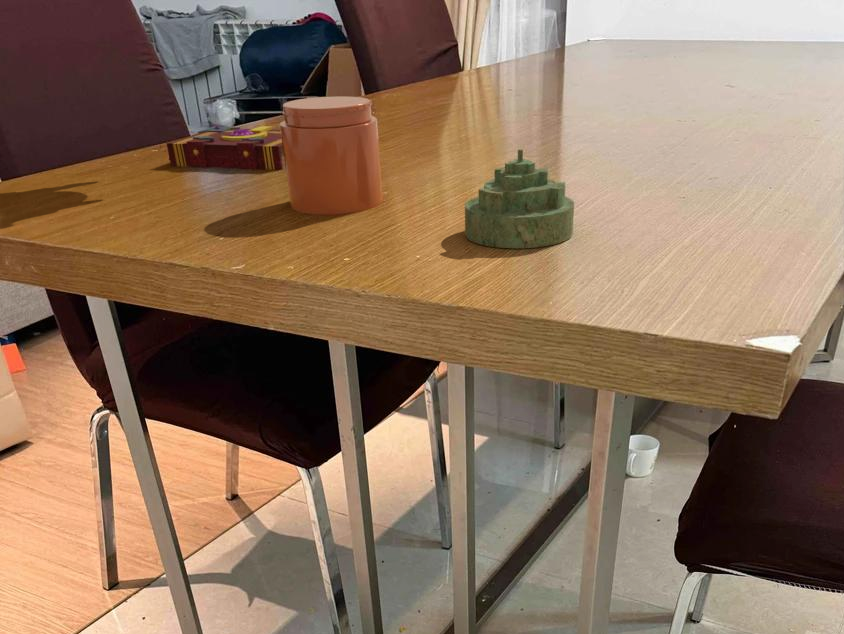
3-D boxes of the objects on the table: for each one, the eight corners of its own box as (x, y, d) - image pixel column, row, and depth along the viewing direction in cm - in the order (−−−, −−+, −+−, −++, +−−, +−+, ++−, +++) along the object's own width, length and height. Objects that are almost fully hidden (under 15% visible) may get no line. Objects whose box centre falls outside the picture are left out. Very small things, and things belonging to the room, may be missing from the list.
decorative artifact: (564, 218, 82) (463, 222, 82) (569, 137, 78) (461, 141, 78) (579, 246, 74) (467, 250, 74) (585, 158, 70) (466, 162, 70)
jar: (296, 239, 79) (278, 112, 73) (291, 217, 86) (275, 99, 80) (390, 231, 80) (381, 105, 74) (378, 210, 87) (369, 93, 81)
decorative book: (284, 188, 97) (277, 140, 94) (164, 183, 101) (154, 136, 98) (325, 169, 105) (320, 123, 102) (213, 165, 109) (205, 121, 106)
